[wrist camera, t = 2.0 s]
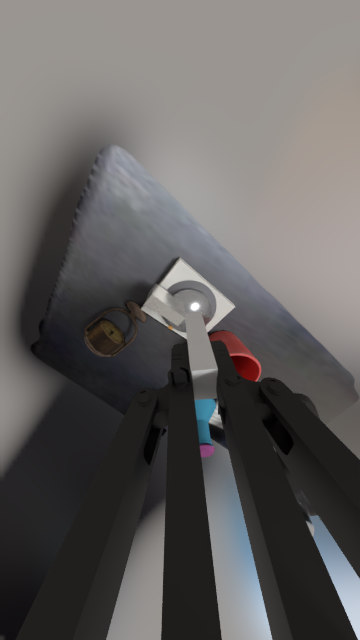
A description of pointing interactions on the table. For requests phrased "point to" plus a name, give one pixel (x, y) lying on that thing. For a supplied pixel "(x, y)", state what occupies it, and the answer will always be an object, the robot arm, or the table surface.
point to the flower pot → (239, 355)
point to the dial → (179, 305)
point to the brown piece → (111, 332)
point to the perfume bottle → (204, 425)
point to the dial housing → (189, 278)
